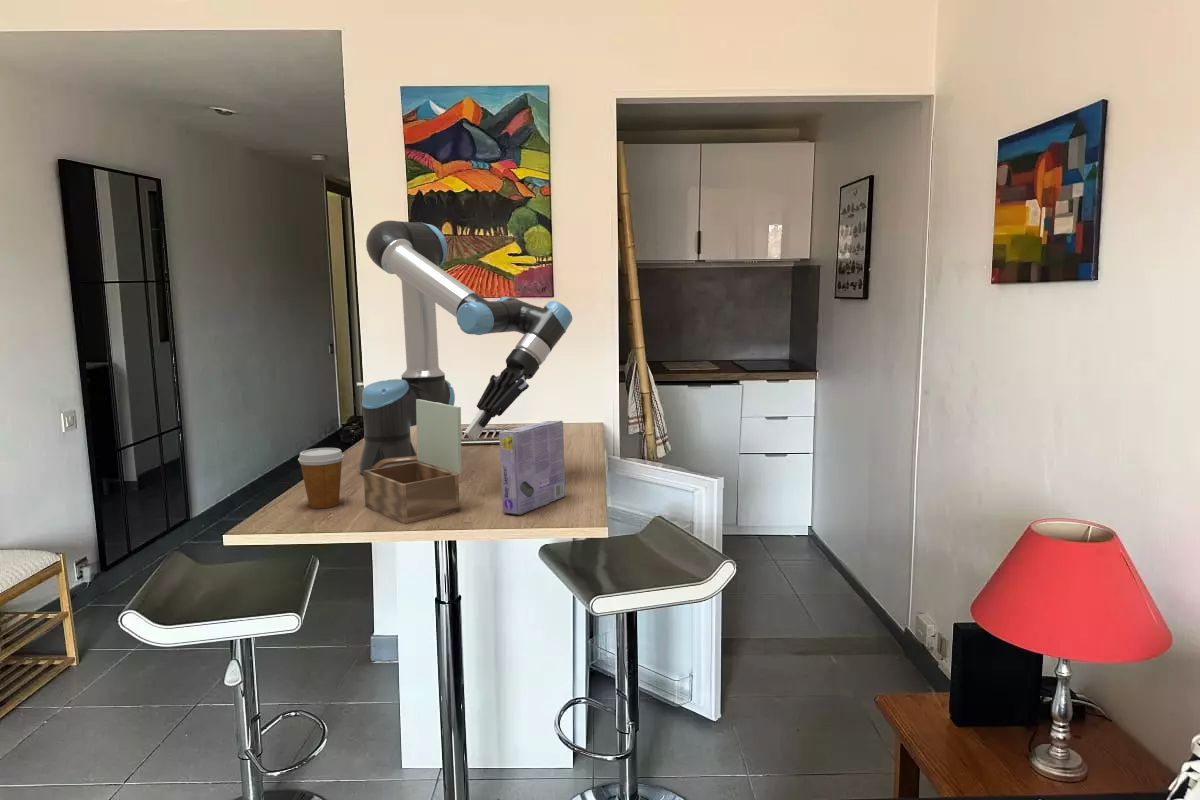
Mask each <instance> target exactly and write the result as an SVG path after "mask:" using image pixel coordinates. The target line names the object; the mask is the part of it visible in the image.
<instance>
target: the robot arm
mask: <svg viewBox="0 0 1200 800" xmlns="http://www.w3.org/2000/svg"><path fill="white" fill-rule="evenodd" d="M365 242H366V243H365V244H366V245H365V247H366V251H367V254H368V257H369V258H370V260H371V261H372V262H373V263H374V264H375V265H376V266H377V267H379V268H380V269H381V270H382V271H384V272H385V273H387V274H389V275H396V277H398V278H399V279H400V281H401V293H402V308H403V311H402V312H403V313H402V314H403V325H404V344H405V360H406V369H405V371H404V372H403V373H402V374H401V378H399V379H398V378H395V379H387V380H379V381H376V382H372V383H370V384H368V385H366V386H365V387H364V388H363V390H362V394H361V395H362V398H361V399H362V401H361V406H362V416H363V430H364V431H363V433H364V445H363V449H362V453H361V457H360V461H359V464H358V465H359V466H358V467H359V474H360V473H361V474H360V475H362V474H363V471H365V470H371V469H372V468H373V467H374V465H375V464H376V463H378V462H379V461H381V460H383V459H388V458H399V457H410V456H417V452H416V451H415V448H414V446H413V443H412V439H411V428H412V427H415V426H416V427H417V421H416V399H420V400H426V401H431V402H437V403H442V404H446V405H452V406H455V400H456V396H455V395H456V394H455V390H454V388H453V387H452V384H451V383H450V382H449V380H446V375H445V372H444V371H443V370H441V368H440V365H439V349H438V348H439V346H438V345H439V344H438V332H437V331H438V328H437V311H436V310H437V309H436V308H437V307H436V306H437V305H438V306H439V307H441V308H442V309H444V310H445V311H447V312H448V313H449V314H451V315H452V316H453V317H455V318H456V322H457V325H458V326H459V328H460V330H461V331H462V332H463V333H465V334H468V335H476V336H483V335H487V334H498V333H499V334H500V333H511V332H516V333H519V334H522V337H521V338H520V339H519V341H518V342H517V343H516V345H515V348H513V349H512V350H511V352H510V353H509V354H508V356H507V357H506V359H505V364H506V367H505V368H504V369H503V370H502V371H501V372H500V374H499V375H497V376H496V375H495V374H491V376H490V379H489V382H488V384H487V386H486V388H485V389H484V391H483V394H482V395H481V397H480V399H479V400H478V403H477V404H476V407H477V408H478V410H479V411H478V412H477V414H476V415H475V417H474V418H473V419H472V421H471V422H470V424H468V426H467V428H466V429H465V430H464V432H463V433H464V434H465V435H466V436H467V437H468V438H469V439H470V440H472V441H476V440H477V439H478V437H479V436H480V434H481V433H482V432H483V430H484V429H485V428H486V426H487V425H488V424H489V423H490V421H491V419H492V418H495V417H496V416H498V417H501V416H502V415H503V414H504V413H505V412H506V410H507V409H508V408H510V406H511V405H512V404H513V403H514V402H515V401H516V400H517V398H518V397H520V396H521V395H522V393H523V392H524V391H526V390H527V389H528V388H529V387H530V385H529V384H528V383H527V380H531V379H532V378H533V377H534V376H535V375H536V373H537V372H538V371H539V369H540V366H541V365H543V364H544V362H545V361H546V359H547V358H548V356H549V355H550V353H551V352H552V351H553V349H554V347H555V346H556V345H557V343H558V342H559V341H560V340H561V338H562V337H563V336H564V334H566V332H567V330H568V328H569V327H570V325H571V323H572V321H573V315H572V313H571V311H570V310H569V308H568V307H566V306H565V305H564V304H562V303H561V302H559V301H557V300H552V301H551V300H550V301H548V302H547V303H546V304H545V305H544V306H542V307H541V306H538V305H537V306H536V305H535V304H531V303H529V302H526V301H522V300H521V299H518V298H516V297H510V296H501V297H500V298H499V299H497V300H495V301H494V300H493V301H492V300H490V301H489V300H487V299H485V298H483V297H482V296H481V295H479V294H478V293H476V292H475V291H474V290H472V289H471V288H469V287H468V286H466V284H464V283H462V282H461V281H459V280H458V279H457V278H456V277H453V276H452V275H451V274H450V273H448V272H446V270H444V269H442V268H441V266H442V265H443V264H444V263H445V259H446V258H447V255H448V244H447V241H446V238H445V235H444V234H443V233H442V231H441V230H439V228H438V227H436V226H435V225H433V224H428V223H424V222H414V221H413V222H412V221H400V220H399V221H398V220H384V221H381V222H379V223H377V224H375V225H374V226H373V227H372V228H371V229H370V231H369V232H368V234H367V237H366V241H365ZM436 304H437V305H436ZM363 476H364V474H363Z"/></svg>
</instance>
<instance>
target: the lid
mask: <svg viewBox="0 0 1200 800" xmlns="http://www.w3.org/2000/svg"><path fill="white" fill-rule="evenodd" d="M416 421H417V425H416V455H417V460H418V461H421V462H424V463H427V464H430V465H434V467H436V468H439V469H442V470H445V471H449V472H452V473H455V474H461V473H462V407H461V406H457V405H456V406H455V405H454V406H452V405H446V404H442V403H437V402H431V401H426V400H420V399H416Z"/></svg>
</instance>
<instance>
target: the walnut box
mask: <svg viewBox="0 0 1200 800" xmlns="http://www.w3.org/2000/svg"><path fill="white" fill-rule="evenodd" d="M363 474H364V475H363V488H364V489H363V490H364V505H365V507H366V508H368V509H370V510H373V511H375V512H377V513H379V514H381V515H384V516H386V517H388V518H390V519H392V520H394V521H396V522H399V523H400V524H401V523H402V524H404V525H405V524H409V523H414V522H418V521H422V520H426V519H428V520H429V519H431V518H436V516H437V517H440V516H439V515H441V516H444V515H443V514H446V515H448V514H447V513H450V514H452V513H451V512H455V511H459V510H460V509H461V506H460V504H461V503H460V486H459V483H460V482H459V473H456V472H453V471H449V470H446V469H443V468H440V467H437V466H434V467H433V466H429V465H426V464H423V463H420V462H412V463H406V464H400V465H395V466H389V467H383V468H377V469H371V470H365V471H363ZM460 511H461V510H460ZM460 511H459V512H460ZM455 513H456V512H455Z"/></svg>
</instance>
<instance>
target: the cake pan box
mask: <svg viewBox="0 0 1200 800" xmlns="http://www.w3.org/2000/svg"><path fill="white" fill-rule="evenodd" d="M498 437H499V455H500V456H499V457H500V477H501V482H500V483H501V501H502V512H503V513H504V514H505V513H506V514H510V515H515V516H522V515H523V514H525V513H528V512H530V511H531V512H532V511H533V510H536V509H540V508H543V507H544V505H545V506H546V505H549V504H551V503H553V502H555V501H558V500H560V499H563V498H562V497H564V496H565V497H566V472H565V470H566V469H565V444H564V442H565V441H564V422H563V420H546V421H541V422H537V423H533V424H527V425H522V426H519V427H514V428H510V429H505V430H501V431H499V433H498ZM565 497H564V498H565ZM557 499H558V500H557ZM552 501H553V502H552ZM550 502H551V503H550ZM539 507H540V508H539Z"/></svg>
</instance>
